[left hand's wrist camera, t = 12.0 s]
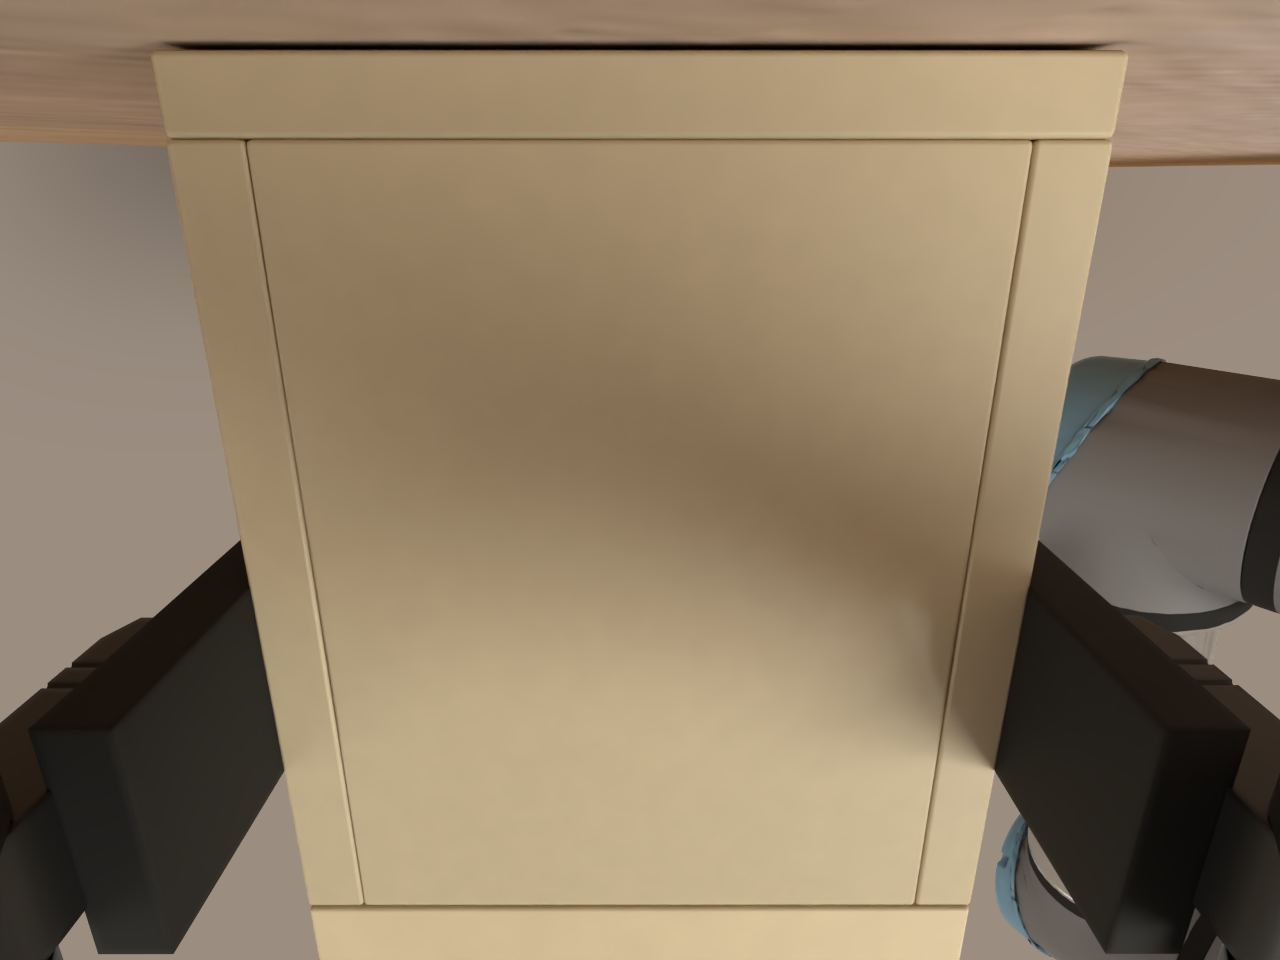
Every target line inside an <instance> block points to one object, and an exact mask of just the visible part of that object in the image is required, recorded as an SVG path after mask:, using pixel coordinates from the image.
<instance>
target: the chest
mask: <svg viewBox="0 0 1280 960" xmlns="http://www.w3.org/2000/svg"><path fill="white" fill-rule="evenodd" d="M151 62H152V68H153V73H154V78H155V84H156V89H157V94H158V100H159V105H160V110H161V116H162V121H163V126H164V131H165V133H166V135H167V136H168V137H170V138H172V139H171V140H169V141H168V142H167V151H168V156H169V161H170V167H171V172H172V177H173V183H174V188H175V193H176V199H177V204H178V209H179V215H180V220H181V225H182V231H183V236H184V241H185V247H186V252H187V257H188V262H189V268H190V273H191V278H192V284H193V289H194V294H195V300H196V305H197V310H198V316H199V321H200V326H201V332H202V337H203V342H204V348H205V353H206V358H207V363H208V369H209V374H210V380H211V385H212V390H213V395H214V401H215V406H216V411H217V417H218V422H219V427H220V433H221V438H222V443H223V449H224V454H225V459H226V465H227V470H228V475H229V481H230V486H231V491H232V496H233V502H234V507H235V512H236V518H237V523H238V528H239V534H240V539H241V544H242V550H243V555H244V560H245V566H246V571H247V576H248V582H249V587H250V591H251V596H252V601H253V607H254V612H255V617H256V623H257V628H258V633H259V639H260V644H261V649H262V655H263V660H264V665H265V671H266V676H267V681H268V686H269V692H270V697H271V702H272V708H273V713H274V718H275V724H276V729H277V734H278V740H279V745H280V750H281V756H282V761H283V766H284V773H285V778H286V784H287V789H288V794H289V800H290V805H291V810H292V816H293V821H294V826H295V832H296V837H297V842H298V847H299V853H300V858H301V863H302V869H303V874H304V879H305V885H306V890H307V895H308V901H309V903H310V904H312V905H360V904H363V902H364V900H365V903H366V904H368V905H774V904H913V903H914V900H915V902H916V903H917V904H919V905H937V904H969V903H970V900H971V895H972V889H973V884H974V879H975V874H976V868H977V863H978V858H979V852H980V847H981V841H982V836H983V831H984V826H985V820H986V815H987V810H988V804H989V799H990V794H991V788H992V783H993V778H994V773H995V765H996V760H997V755H998V749H999V744H1000V739H1001V733H1002V728H1003V723H1004V717H1005V712H1006V707H1007V701H1008V696H1009V691H1010V685H1011V680H1012V675H1013V669H1014V664H1015V659H1016V653H1017V648H1018V643H1019V637H1020V632H1021V627H1022V621H1023V616H1024V611H1025V605H1026V600H1027V595H1028V589H1029V587H1030V581H1031V576H1032V571H1033V565H1034V560H1035V555H1036V549H1037V544H1038V539H1039V533H1040V528H1041V523H1042V517H1043V512H1044V507H1045V501H1046V496H1047V491H1048V486H1049V480H1050V475H1051V470H1052V464H1053V459H1054V454H1055V448H1056V443H1057V438H1058V432H1059V427H1060V422H1061V416H1062V411H1063V406H1064V401H1065V395H1066V390H1067V385H1068V379H1069V374H1070V369H1071V363H1072V358H1073V353H1074V347H1075V342H1076V337H1077V331H1078V326H1079V321H1080V315H1081V310H1082V305H1083V299H1084V294H1085V289H1086V284H1087V278H1088V273H1089V268H1090V262H1091V257H1092V252H1093V246H1094V241H1095V236H1096V230H1097V225H1098V220H1099V214H1100V209H1101V204H1102V199H1103V193H1104V187H1105V182H1106V177H1107V172H1108V167H1109V161H1110V156H1111V151H1112V142H1111V141H1109V140H1105V139H1108V138H1110V137H1112V135H1113V133H1114V131H1115V126H1116V121H1117V115H1118V110H1119V105H1120V99H1121V94H1122V89H1123V83H1124V78H1125V73H1126V67H1127V62H1128V53H1126V52H1124V51H1122V50H156V51H154V52H152V53H151Z"/></svg>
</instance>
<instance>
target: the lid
mask: <svg viewBox="0 0 1280 960" xmlns="http://www.w3.org/2000/svg"><path fill="white" fill-rule="evenodd" d="M311 916H312V922H313V927H314V932H315V938H316V943H317V948H318V954H319V959H320V960H959V958H960V953H961V947H962V942H963V937H964V932H965V926H966V921H967V916H968V906H967V904H937V905H919V904H917V903H916V902H915V900H914V903H913V904H774V905H368V904H366V903H365V900H364V902H363V904H360V905H312V906H311Z"/></svg>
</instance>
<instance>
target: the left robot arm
mask: <svg viewBox="0 0 1280 960" xmlns="http://www.w3.org/2000/svg"><path fill="white" fill-rule="evenodd" d="M283 772H284V766H283V761H282V756H281V750H280V745H279V740H278V734H277V729H276V724H275V718H274V713H273V708H272V702H271V697H270V692H269V686H268V681H267V676H266V671H265V665H264V660H263V655H262V649H261V644H260V639H259V633H258V628H257V623H256V617H255V612H254V607H253V601H252V596H251V591H250V587H249V582H248V576H247V571H246V566H245V560H244V555H243V550H242V544H241V540H240V541H239V542H238V543H237V544H235V545H234V546H233V547H232V548H231V549H230V550H229V551H228V552H226V553H225V554H224V555H223V556H222V557H221V558H220V559H219V560H217V561H216V562H215V563H214V564H213V565H212V566H211V567H210V568H208V569H207V570H206V571H205V572H204V573H203V574H202V575H201V576H199V577H198V578H197V579H196V580H195V581H194V582H193V583H192V584H190V585H189V586H188V587H187V588H186V589H185V590H184V591H183V592H182V593H180V594H179V595H178V596H177V597H176V598H175V599H174V600H173V601H171V602H170V603H169V604H168V605H167V606H166V607H165V608H164V609H162V610H161V611H160V612H159V613H158V614H157V615H156V616H155V617H153V618H140V619H138V620H136V621H134V622H132V623H130V624H128V625H126V626H124V627H122V628H120V629H118V630H116V631H114V632H112V633H110V634H109V635H107V636H105V637H103V638H101V639H100V640H98V641H97V642H96V643H95V644H94V645H92V646H91V647H90V648H89V649H88V650H87V651H85V652H84V653H83V654H82V655H81V656H79V657H78V658H77V659H76V660H75V661H73V662H72V667H71V668H65V669H64V670H63V671H62V672H60V673H59V674H58V675H57V676H56V677H54V678H53V679H52V680H51V681H50V682H49V683H48V686H47V689H40V690H39V691H38V692H37V693H35V694H34V695H33V696H32V697H31V698H30V699H28V700H27V701H26V702H25V703H24V704H22V705H21V706H20V707H19V708H18V709H16V710H15V711H14V712H13V713H12V714H10V715H9V716H8V717H7V718H6V719H5V720H3V721H2V722H1V723H0V960H63V958H62V955H61V952H60V949H59V946H58V945H59V943H60V942H61V941H62V940H63V938H64V937H65V936H66V934H67V933H68V932H69V930H70V929H71V928H72V926H73V925H74V924H75V922H76V921H77V920H78V919H79V917H80V916H81V915H82V913H83V912H84V911H85V913H86V916H87V919H88V923H89V926H90V929H91V932H92V935H93V939H94V942H95V945H96V948H97V951H98V954H174V952H175V951H176V949H177V947H178V946H179V944H180V942H181V941H182V939H183V937H184V936H185V934H186V932H187V931H188V929H189V927H190V926H191V924H192V922H193V921H194V919H195V917H196V916H197V914H198V913H199V911H200V909H201V908H202V906H203V904H204V903H205V901H206V899H207V898H208V896H209V894H210V893H211V891H212V889H213V888H214V886H215V884H216V883H217V881H218V879H219V878H220V876H221V875H222V873H223V871H224V869H225V868H226V866H227V865H228V863H229V861H230V860H231V858H232V856H233V855H234V853H235V851H236V850H237V848H238V846H239V845H240V843H241V841H242V840H243V838H244V837H245V835H246V833H247V832H248V830H249V828H250V827H251V825H252V823H253V822H254V820H255V818H256V817H257V815H258V813H259V812H260V810H261V808H262V807H263V805H264V804H265V802H266V800H267V799H268V797H269V795H270V794H271V792H272V790H273V789H274V787H275V785H276V784H277V782H278V780H279V779H280V777H281V775H282V774H283ZM995 772H996V774H997V775H998V777H999V779H1000V780H1001V782H1002V784H1003V785H1004V787H1005V789H1006V790H1007V792H1008V793H1009V795H1010V797H1011V798H1012V800H1013V802H1014V803H1015V805H1016V807H1017V808H1018V810H1019V812H1020V813H1021V815H1022V817H1023V818H1024V820H1025V822H1026V823H1027V825H1028V827H1029V828H1030V830H1031V831H1032V833H1033V835H1034V836H1035V838H1036V840H1037V841H1038V843H1039V845H1040V846H1041V848H1042V850H1043V851H1044V853H1045V855H1046V856H1047V858H1048V860H1049V861H1050V863H1051V864H1052V866H1053V868H1054V869H1055V871H1056V873H1057V874H1058V876H1059V878H1060V879H1061V881H1062V883H1063V884H1064V886H1065V888H1066V889H1067V891H1068V893H1069V894H1070V896H1071V898H1072V899H1073V901H1074V902H1075V904H1076V906H1077V907H1078V909H1079V911H1080V912H1081V914H1082V916H1083V917H1084V919H1085V921H1086V922H1087V924H1088V926H1089V927H1090V929H1091V931H1092V932H1093V934H1094V936H1095V937H1096V939H1097V940H1098V942H1099V944H1100V945H1101V947H1102V949H1103V950H1104V952H1105V954H1181V951H1182V948H1183V944H1184V941H1185V938H1186V935H1187V932H1188V929H1189V925H1190V922H1191V919H1192V916H1193V913H1194V910H1195V908H1196V909H1197V910H1198V912H1199V913H1200V914H1201V915H1202V917H1203V918H1204V919H1205V921H1206V922H1207V923H1208V925H1209V926H1210V927H1211V928H1212V930H1213V931H1214V932H1215V934H1216V935H1217V936H1218V938H1219V939H1220V940H1221V941H1222V946H1221V949H1220V952H1219V955H1218V958H1217V960H1280V720H1279V719H1278V718H1277V717H1276V716H1275V715H1273V714H1272V713H1271V712H1270V711H1269V710H1267V709H1266V708H1265V707H1264V706H1263V705H1261V704H1260V703H1259V702H1258V701H1257V700H1255V699H1254V698H1253V697H1252V696H1251V695H1249V694H1248V693H1247V692H1246V691H1245V690H1243V689H1242V688H1241V687H1240V686H1239V685H1233V684H1232V679H1230V678H1229V677H1228V676H1227V675H1225V674H1224V673H1223V672H1222V671H1221V670H1220V669H1218V668H1217V667H1216V666H1215V665H1209V664H1208V659H1206V658H1205V657H1204V656H1203V655H1202V654H1200V653H1199V652H1198V651H1197V650H1196V649H1194V648H1193V647H1192V646H1191V645H1190V644H1188V643H1187V642H1186V641H1185V640H1184V639H1182V638H1181V637H1180V636H1179V635H1177V634H1175V633H1173V632H1171V631H1169V630H1167V629H1165V628H1163V627H1161V626H1159V625H1157V624H1155V623H1153V622H1152V621H1150V620H1148V619H1146V618H1144V617H1142V616H1140V615H1122V614H1121V613H1120V612H1119V611H1118V610H1117V609H1115V608H1114V607H1113V606H1112V605H1111V604H1110V603H1109V602H1108V601H1106V600H1105V599H1104V598H1103V597H1102V596H1101V595H1100V594H1099V593H1098V592H1096V591H1095V590H1094V589H1093V588H1092V587H1091V586H1090V585H1089V584H1087V583H1086V582H1085V581H1084V580H1083V579H1082V578H1081V577H1080V576H1078V575H1077V574H1076V573H1075V572H1074V571H1073V570H1072V569H1071V568H1069V567H1068V566H1067V565H1066V564H1065V563H1064V562H1063V561H1062V560H1060V559H1059V558H1058V557H1057V556H1056V555H1055V554H1054V553H1053V552H1051V551H1050V550H1049V549H1048V548H1047V547H1046V546H1045V545H1044V544H1042V543H1041V542H1040V541H1039V540H1038V544H1037V549H1036V555H1035V560H1034V565H1033V571H1032V576H1031V581H1030V587H1029V589H1028V595H1027V600H1026V605H1025V611H1024V616H1023V621H1022V627H1021V632H1020V637H1019V643H1018V648H1017V653H1016V659H1015V664H1014V669H1013V675H1012V680H1011V685H1010V691H1009V696H1008V701H1007V707H1006V712H1005V717H1004V723H1003V728H1002V733H1001V739H1000V744H999V749H998V755H997V760H996V765H995Z"/></svg>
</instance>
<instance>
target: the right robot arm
mask: <svg viewBox="0 0 1280 960" xmlns="http://www.w3.org/2000/svg"><path fill="white" fill-rule="evenodd" d="M1039 539H1040V542H1041V543H1042V544H1044V545H1045V546H1046V547H1047V548H1048V549H1049V550H1050V551H1051V552H1053V553H1054V554H1055V555H1056V556H1057V557H1058V558H1059V559H1060V560H1062V561H1063V562H1064V563H1065V564H1066V565H1067V566H1068V567H1069V568H1071V569H1072V570H1073V571H1074V572H1075V573H1076V574H1077V575H1078V576H1080V577H1081V578H1082V579H1083V580H1084V581H1085V582H1086V583H1087V584H1089V585H1090V586H1091V587H1092V588H1093V589H1094V590H1095V591H1096V592H1098V593H1099V594H1100V595H1101V596H1102V597H1103V598H1104V599H1105V600H1106V601H1108V602H1109V603H1110V604H1111V605H1112V606H1113V607H1114V608H1115V609H1117V610H1118V611H1119V612H1120V613H1121V614H1122V615H1140V616H1142V617H1144V618H1146V619H1148V620H1150V621H1152V622H1153V623H1155V624H1157V625H1159V626H1161V627H1163V628H1165V629H1167V630H1169V631H1171V632H1173V633H1175V634H1177V635H1179V636H1180V637H1181V638H1182V639H1184V640H1185V641H1186V642H1187V643H1188V644H1190V645H1191V646H1192V647H1193V648H1194V649H1196V650H1197V651H1198V652H1199V653H1200V654H1202V655H1203V656H1204V657H1205V658H1206V659H1208V664H1209V665H1213V661H1214V656H1215V650H1216V645H1217V639H1218V634H1219V629H1222V628H1225V627H1227V626H1229V625H1232V624H1234V623H1235V622H1237V621H1239V620H1240V619H1242V618H1244V617H1245V616H1246V615H1247V614H1248V613H1249V612H1250V611H1251V610H1252V608H1253V607H1254V605H1255V606H1258V607H1261V608H1264V609H1267V610H1270V611H1273V612H1276V613H1279V614H1280V380H1276V379H1269V378H1263V377H1257V376H1250V375H1244V374H1237V373H1231V372H1225V371H1218V370H1212V369H1205V368H1199V367H1192V366H1186V365H1180V364H1173V363H1167V362H1166V361H1165V360H1164V359H1159V358H1154V359H1150V360H1148V361H1146V360H1136V359H1127V358H1117V357H1107V356H1095V357H1089V358H1086V359H1082V360H1080V361H1078V362H1076V363H1074V364H1072V365H1071V369H1070V374H1069V379H1068V385H1067V390H1066V395H1065V401H1064V406H1063V411H1062V416H1061V422H1060V427H1059V432H1058V438H1057V443H1056V448H1055V454H1054V459H1053V464H1052V470H1051V475H1050V480H1049V486H1048V491H1047V496H1046V501H1045V507H1044V512H1043V517H1042V523H1041V528H1040V533H1039ZM1002 853H1003V856H1002V859H1001V860H1000V861H999V862H998V864H997V869H996V878H995V892H996V899H997V903H998V906H999V909H1000V911H1001V913H1002V915H1003V917H1004V918H1005V920H1006V921H1007V922H1008V923H1009V924H1010V925H1011V926H1012V927H1013V928H1014V929H1015V930H1017V931H1018V932H1019V933H1021V934H1022V935H1023V936H1024V937H1026V938H1027V939H1028V941H1029V942H1030V943H1031V944H1032V945H1033V946H1034V947H1036V948H1037V949H1038V950H1039V951H1041V952H1042V953H1044V954H1046V955H1048V956H1052V957H1054V958H1055V959H1056V960H1217V958H1218V955H1219V952H1220V949H1221V946H1222V941H1221V940H1220V939H1219V938H1218V936H1217V935H1216V934H1215V932H1214V931H1213V930H1212V928H1211V927H1210V926H1209V925H1208V923H1207V922H1206V921H1205V919H1204V918H1203V917H1202V915H1201V914H1200V913H1199V912H1198V910H1197V909H1196V908H1195V910H1194V913H1193V916H1192V919H1191V922H1190V925H1189V929H1188V932H1187V935H1186V938H1185V941H1184V944H1183V948H1182V951H1181V954H1105V952H1104V950H1103V949H1102V947H1101V945H1100V944H1099V942H1098V940H1097V939H1096V937H1095V936H1094V934H1093V932H1092V931H1091V929H1090V927H1089V926H1088V924H1087V922H1086V921H1085V919H1084V917H1083V916H1082V914H1081V912H1080V911H1079V909H1078V907H1077V906H1076V904H1075V902H1074V901H1073V899H1072V898H1071V896H1070V894H1069V893H1068V891H1067V889H1066V888H1065V886H1064V884H1063V883H1062V881H1061V879H1060V878H1059V876H1058V874H1057V873H1056V871H1055V869H1054V868H1053V866H1052V864H1051V863H1050V861H1049V860H1048V858H1047V856H1046V855H1045V853H1044V851H1043V850H1042V848H1041V846H1040V845H1039V843H1038V841H1037V840H1036V838H1035V836H1034V835H1033V833H1032V831H1031V830H1030V828H1029V827H1028V825H1027V823H1026V822H1025V820H1024V818H1023V817H1022V815H1021V814H1020V815H1019V816H1018V818H1017V819H1016V820H1015V822H1014V824H1013V825H1012V827H1011V829H1010V830H1009V832H1008V835H1007V837H1006V839H1005V841H1004V844H1003V847H1002Z"/></svg>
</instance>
